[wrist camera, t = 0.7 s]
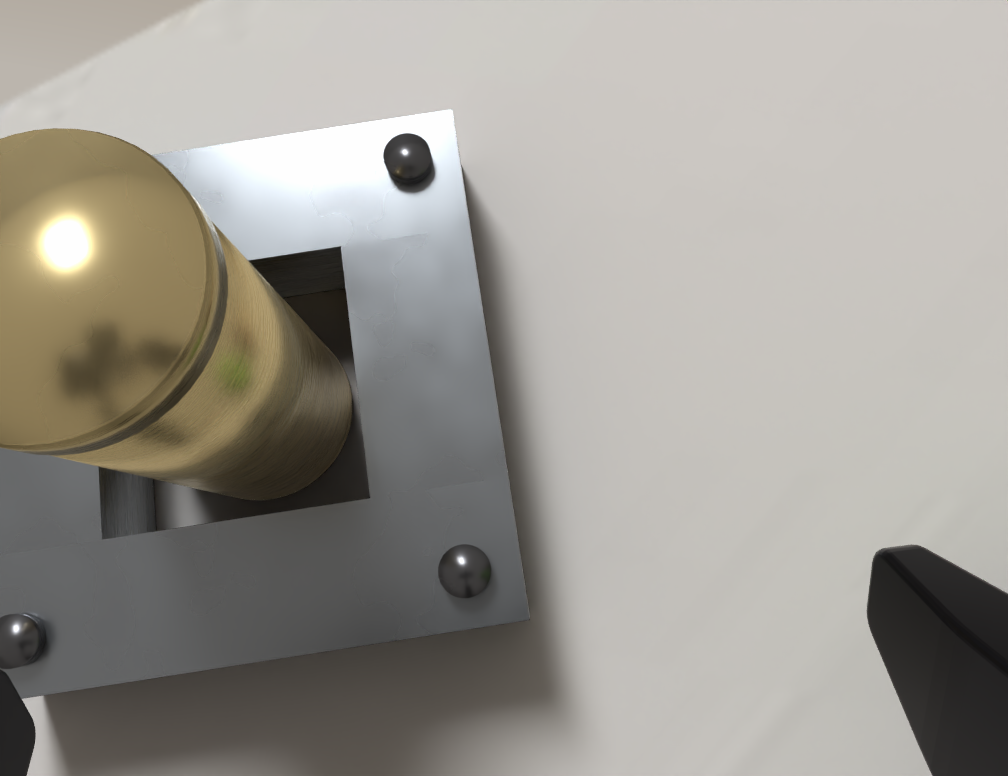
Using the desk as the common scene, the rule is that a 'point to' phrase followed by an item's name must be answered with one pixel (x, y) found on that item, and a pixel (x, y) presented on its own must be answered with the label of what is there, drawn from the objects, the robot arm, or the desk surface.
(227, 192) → the housing
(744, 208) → the desk surface
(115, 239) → the cylinder
